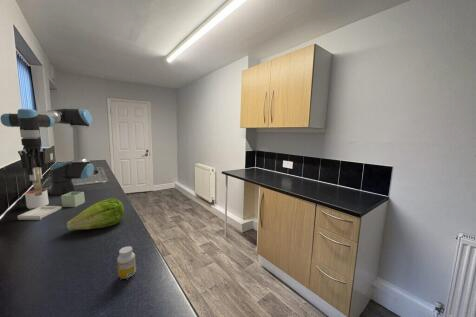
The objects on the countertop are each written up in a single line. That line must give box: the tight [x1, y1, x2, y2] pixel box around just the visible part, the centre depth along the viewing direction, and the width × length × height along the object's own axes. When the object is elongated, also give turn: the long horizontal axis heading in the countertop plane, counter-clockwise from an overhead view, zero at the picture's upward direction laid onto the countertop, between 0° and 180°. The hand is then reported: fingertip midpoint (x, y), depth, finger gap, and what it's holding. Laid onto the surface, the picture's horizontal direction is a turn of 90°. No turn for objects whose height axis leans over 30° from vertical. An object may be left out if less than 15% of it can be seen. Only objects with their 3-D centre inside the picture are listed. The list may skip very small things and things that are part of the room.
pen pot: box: [60, 191, 86, 208], centre depth 131 cm, size 8×8×8 cm
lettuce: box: [66, 198, 125, 231], centre depth 103 cm, size 14×24×15 cm
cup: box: [24, 188, 49, 210], centre depth 128 cm, size 10×10×10 cm
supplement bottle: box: [117, 245, 137, 278], centre depth 70 cm, size 5×5×10 cm
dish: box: [17, 205, 63, 221], centre depth 117 cm, size 14×12×2 cm
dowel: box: [32, 166, 42, 196], centre depth 114 cm, size 3×3×16 cm
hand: (36, 179), depth 114 cm, fingers closed on dowel, 3 cm apart
